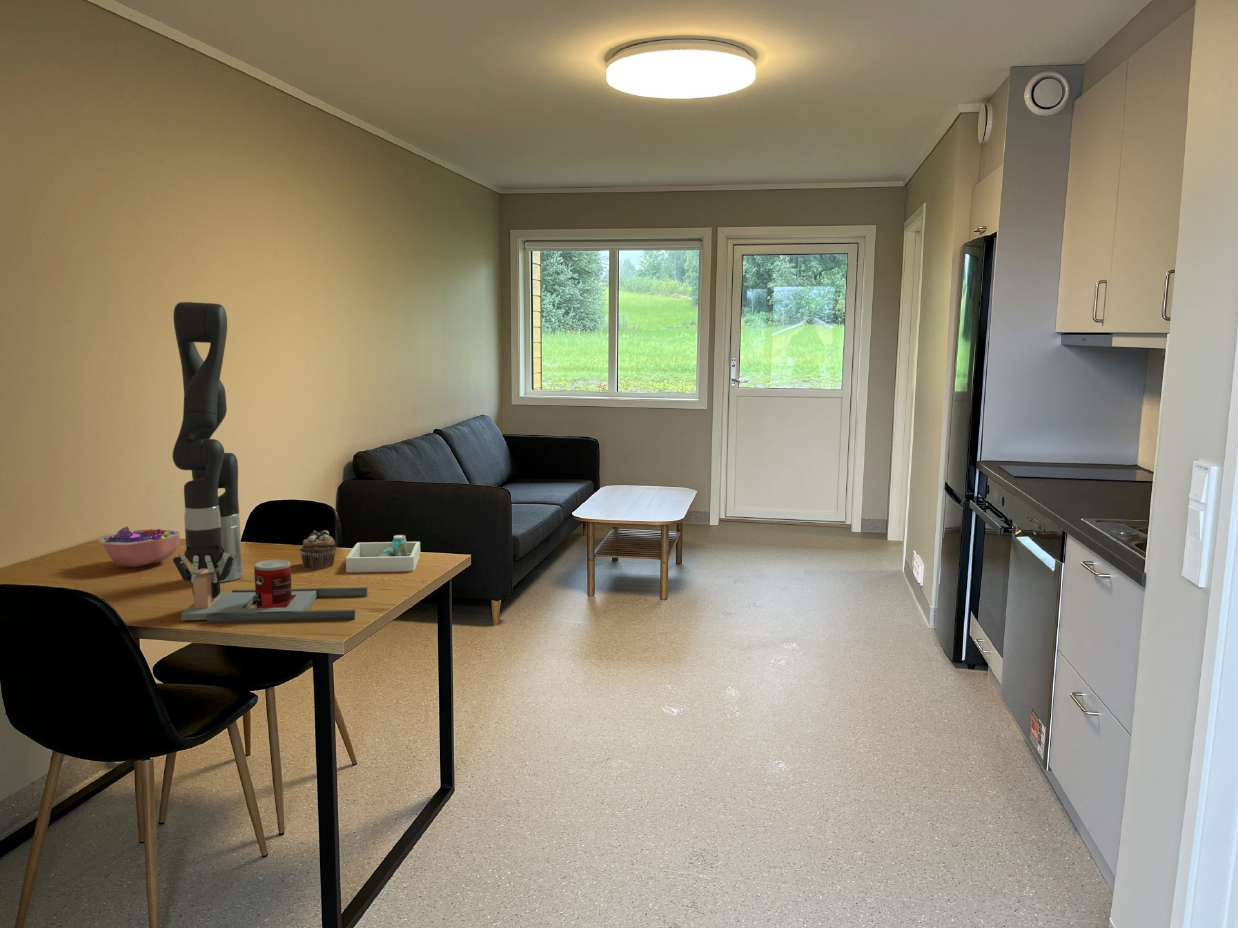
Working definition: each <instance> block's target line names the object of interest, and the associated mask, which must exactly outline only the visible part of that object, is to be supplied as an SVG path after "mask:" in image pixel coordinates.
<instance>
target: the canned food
mask: <svg viewBox="0 0 1238 928" xmlns="http://www.w3.org/2000/svg"><path fill="white" fill-rule="evenodd" d="M253 569H254V572H253V573H254V588H255V589H254V590H255V592H256V602H255V604H256V605H255V607H256V608H284V607H287V606H288V605H289V604H290V602H291V601H292V590H291V589H292V572H291V571H292V567H291V562H290V561H289V560H285V559H267V560H260V561H258V562H256V563H255V564H254V568H253Z"/></svg>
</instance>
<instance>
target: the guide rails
mask: <svg viewBox="0 0 1238 928" xmlns="http://www.w3.org/2000/svg"><path fill="white" fill-rule="evenodd" d="M291 590H292V591H317V597H316V598H336V597H337V598H338V597H341V598H343V597H346V598H347V597H368V595H369V593H368V590H369V589H368V586H365V587H363V586H362V587H361V586H360V587H355V586H354V587H315V588H314V587H313V588H311V587H310V588H309V587H307V588H291ZM235 592H255V589H233V590H231V593H235ZM355 619H356V609H331V610H330V609H325V610H323V609H322V610H320V609H319V610H307V611H275V612H234V613H208V614H207V620H206V623H207V624H223V623H224V624H225V623H229V624H230V623H262V622H263V623H265V622H268V623H271V622H299V621H301V622H302V621H303V622H305V621H340V620H341V621H345V620H346V621H348V620H355Z"/></svg>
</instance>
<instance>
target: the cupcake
mask: <svg viewBox="0 0 1238 928" xmlns="http://www.w3.org/2000/svg"><path fill="white" fill-rule="evenodd" d="M336 550H337V546H336V541H335V539H334V538H333V537H332V536H330V533H329V531H328V530H327V529H325V530H321V531H317V530H313V531H311V533H310V534H309V536H308V537H307V538H306V539H304V540H303V541H302V547H301V548H300V549H299V553H300V556H301V562H302V565H303V568H305V569H308V570H322V569H327V568H328V569H329V568H330V567H332V566H333V565H334V562H335V556H336V552H337V551H336Z"/></svg>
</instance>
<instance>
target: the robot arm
mask: <svg viewBox="0 0 1238 928" xmlns="http://www.w3.org/2000/svg"><path fill="white" fill-rule="evenodd" d="M227 315H228V314H227V311H226V309H225V307H224V306H223V305H222V304H221V303H220V304H219V303H211V302H197V301H196V302H193V301H192V302H191V301H181V302H178V303H176V305H175V306H174V309H173V325H174V332H175V333H174V335H175V338H176V343H177V348H178V353H179V358H180V365H181V374H182V383H183V411H182V412H183V413H182V415H183V416H182V422H181V427H180V429H179V433H178V436H177V439H176V441H175V443H174V447H173V450H172V460H173V461H172V462H173V464H174V465H175V466H176V468H178V469H179V470H182V471H191V478H192V479H191V480H188V481H187V482H185V483H184V487H183V497H184V499H183V500H184V514H183V515H184V516H183V517H184V535H185V551H184V553H182V554H179V555H177V556H175V557H174V558H173V559H172V561H173V563H174V566H175V568H176V569H177V571H178V572H179V574H180V576H181V578H182V580H183V581H185V582H187V581H188V582H190V583H191V585H192V595H193V597H194V592H193V578H194V577H195V576H197V575H198V574H199V573H201V572H202V571H203V570H204V569H208V571H209V574H210V575H211V579H212V583H211V587H212V598H217V597H218V595H219V594H220V593H222V592H221V582H223V583H224V582H229V581H235V580H238V579H240V578H242V577H243V563H242V562H243V561H242V543H241V542H242V541H241V540H242V539H241V523H240V506H239V505H240V503H239V464H238V463H239V462H238V459H237V456H236V454H234V453H233V452H225V449H224V445H223V444H222V443H221V441H219V440H218V439H213V438H212V436H213V435H214V433H215V432H216V431H217V430H218V428H219V427H220V425H221V424H222V423H223V421H224V419H225V417H226V415H227V412H228V411H227V409H228V407H227V396H226V389H225V386H224V384H223V382H222V380H221V374H222V373H221V372H222V368H223V362H224V356H225V355H224V354H225V348H226V341H227V335H228V317H227ZM195 343H204V344H207V343H208V344H209V350H208V353H207V356H206V357H205V359H204V360H203V358H202V356H201V355H200V353H199V351H198V349H197V346H196V344H195ZM218 489H224V492H223V493H222V494H220V495H219V490H218ZM187 561H188V562H189V564H191V565H192V566H191V570H190V569H189V567H188V565H187Z"/></svg>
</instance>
